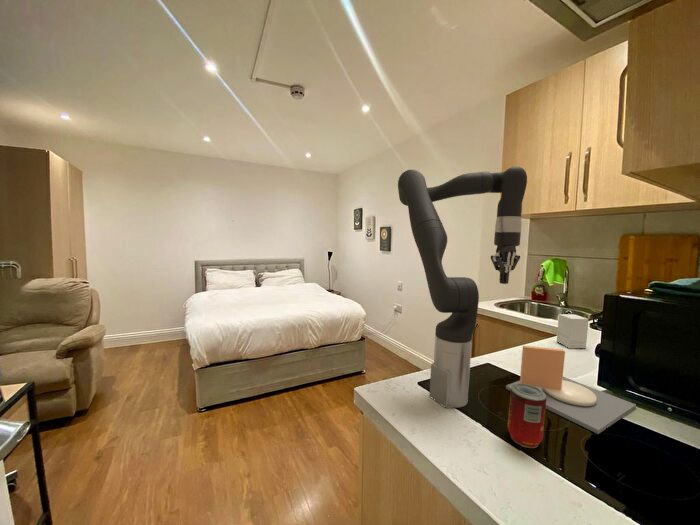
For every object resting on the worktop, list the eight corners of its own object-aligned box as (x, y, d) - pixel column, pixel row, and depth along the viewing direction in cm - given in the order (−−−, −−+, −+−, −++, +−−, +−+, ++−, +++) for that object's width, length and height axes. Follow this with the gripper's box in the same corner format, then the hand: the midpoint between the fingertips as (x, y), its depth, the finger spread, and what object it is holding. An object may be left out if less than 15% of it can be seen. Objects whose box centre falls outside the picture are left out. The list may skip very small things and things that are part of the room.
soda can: (549, 450, 60) (554, 397, 59) (518, 450, 60) (522, 396, 59) (529, 429, 67) (533, 381, 66) (500, 429, 67) (504, 380, 66)
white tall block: (586, 349, 118) (589, 319, 117) (568, 348, 118) (571, 318, 117) (572, 342, 125) (575, 314, 124) (555, 342, 126) (558, 313, 124)
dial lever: (580, 385, 85) (584, 345, 84) (606, 409, 74) (612, 363, 73) (513, 377, 89) (516, 339, 88) (528, 398, 78) (532, 354, 76)
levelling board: (595, 436, 65) (596, 424, 65) (502, 389, 84) (503, 380, 84) (636, 407, 77) (637, 397, 77) (547, 372, 96) (547, 364, 96)
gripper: (508, 231, 101) (505, 280, 103) (484, 230, 95) (480, 283, 96) (530, 231, 95) (526, 284, 96) (506, 230, 88) (502, 286, 90)
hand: (503, 283), depth 96 cm, fingers closed
